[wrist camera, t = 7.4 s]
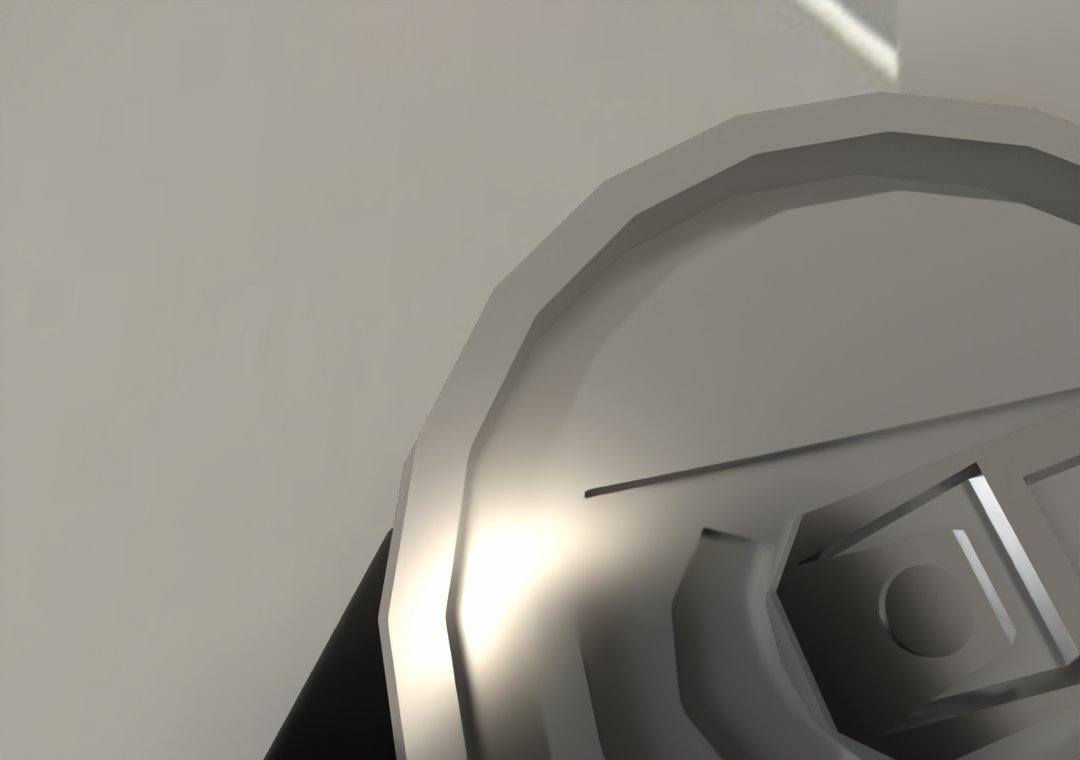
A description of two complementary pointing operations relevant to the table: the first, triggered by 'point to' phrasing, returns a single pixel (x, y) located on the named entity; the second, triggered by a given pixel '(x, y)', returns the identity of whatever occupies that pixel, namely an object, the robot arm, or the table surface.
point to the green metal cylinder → (764, 459)
